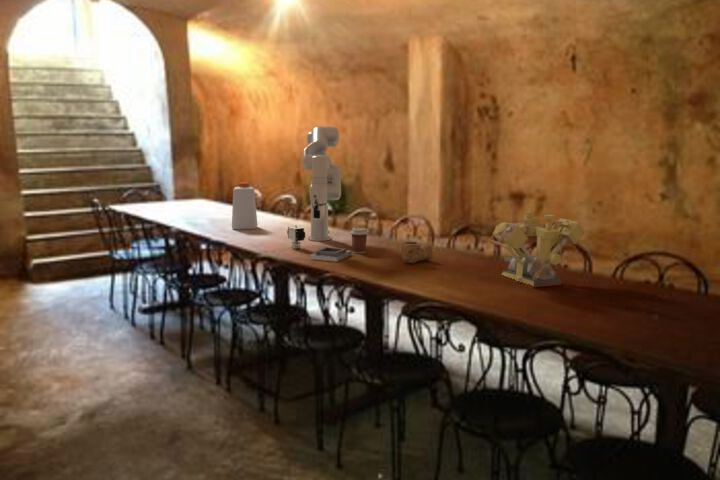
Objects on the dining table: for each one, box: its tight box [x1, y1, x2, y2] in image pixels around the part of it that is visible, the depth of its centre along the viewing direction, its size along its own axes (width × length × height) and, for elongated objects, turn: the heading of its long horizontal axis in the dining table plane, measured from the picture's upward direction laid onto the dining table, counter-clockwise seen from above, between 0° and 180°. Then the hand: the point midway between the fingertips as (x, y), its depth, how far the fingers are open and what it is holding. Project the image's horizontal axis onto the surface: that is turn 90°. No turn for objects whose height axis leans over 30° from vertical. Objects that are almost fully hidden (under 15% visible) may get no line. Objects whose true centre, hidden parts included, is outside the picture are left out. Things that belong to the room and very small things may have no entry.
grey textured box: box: [401, 240, 434, 264], centre depth 287 cm, size 9×16×10 cm, turn 132°
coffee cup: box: [349, 227, 369, 254], centre depth 309 cm, size 9×9×12 cm
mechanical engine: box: [488, 207, 586, 286], centre depth 252 cm, size 39×37×30 cm
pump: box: [314, 203, 325, 220], centre depth 304 cm, size 6×6×8 cm
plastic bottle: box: [231, 181, 258, 231], centre depth 376 cm, size 15×15×28 cm
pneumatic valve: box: [286, 224, 306, 250], centre depth 317 cm, size 6×12×12 cm, turn 33°
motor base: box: [309, 246, 352, 263], centre depth 297 cm, size 18×14×4 cm
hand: (319, 217), depth 305 cm, fingers closed on pump, 5 cm apart
